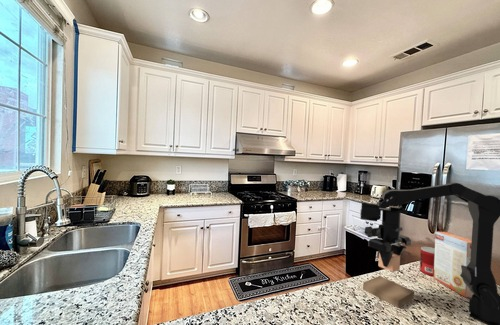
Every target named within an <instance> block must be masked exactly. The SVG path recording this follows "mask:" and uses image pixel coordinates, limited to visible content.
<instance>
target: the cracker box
mask: <svg viewBox="0 0 500 325" xmlns="http://www.w3.org/2000/svg"><path fill="white" fill-rule="evenodd" d="M434 235H435V237H434V238H435V240H434V248H435V258H434V277H433V279H434V280H435V281H438V282H439V283H441V284H442V285H444V286H445V287H447V288H449V289H450V290H452V291H453V292H456V293H457V294H458V295H461V296H463V298H469V299H471V298H472V295H473V294H474V293H473V292H471V290H470V288H469V287H468V286H467V285H466V284H465V283H464V281H463V278H462V277H461V276H460V275H461V273H462V269H461V265H464V266H468V264H469V263H470V258H471V243H472V239H470V238H466V237H463V236H460V235H457V234H454V233H451V232H447V231H435V233H434Z"/></svg>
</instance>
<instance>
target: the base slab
mask: <svg viewBox="0 0 500 325" xmlns="http://www.w3.org/2000/svg"><path fill="white" fill-rule="evenodd" d="M362 290H364V291H366V292H368V293H369V294H371V295H373V296H375V297H377V298H378V299H380V300H382V301H384V302H385V303H388V304H389V305H391V306H392V307H395V308H397V309H399V308H401V307H402V306H404V305H405V303H406V304H407V303H409V302H410V301H412V300H413V299H415V290H412V289H410V288H407V287H405V286H403V285H401V284H399V283H397V282H395V281H393V280H390V279H388V278H386V277H383V276H381V275H378V276H376V277H374V278H373V277H372V278H371V279H369V280H366V281H363V283H362ZM400 306H401V307H400Z"/></svg>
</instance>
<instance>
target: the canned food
mask: <svg viewBox="0 0 500 325" xmlns="http://www.w3.org/2000/svg"><path fill="white" fill-rule="evenodd" d="M419 254H420V257H419V258H420V259H419V270H420V272H421V273H423V274H424V275H426V276H429V277H433V278H434V258H435V247H430V246H421V247H420V253H419Z"/></svg>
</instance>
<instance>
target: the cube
mask: <svg viewBox="0 0 500 325" xmlns="http://www.w3.org/2000/svg"><path fill="white" fill-rule="evenodd" d="M377 264H378V267H379V268H382V269H384V270H387V271H389V272H391V273H394V272H396V271H399V270H401V268H400V267H401V255H400V256H399V255H396V254H394V253H393V255H392V257H391V259H390V262H389V264H388V266H387V267H385V266H384V265H383V262H382V259H381V256H380V253H379V252H378V263H377Z"/></svg>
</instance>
